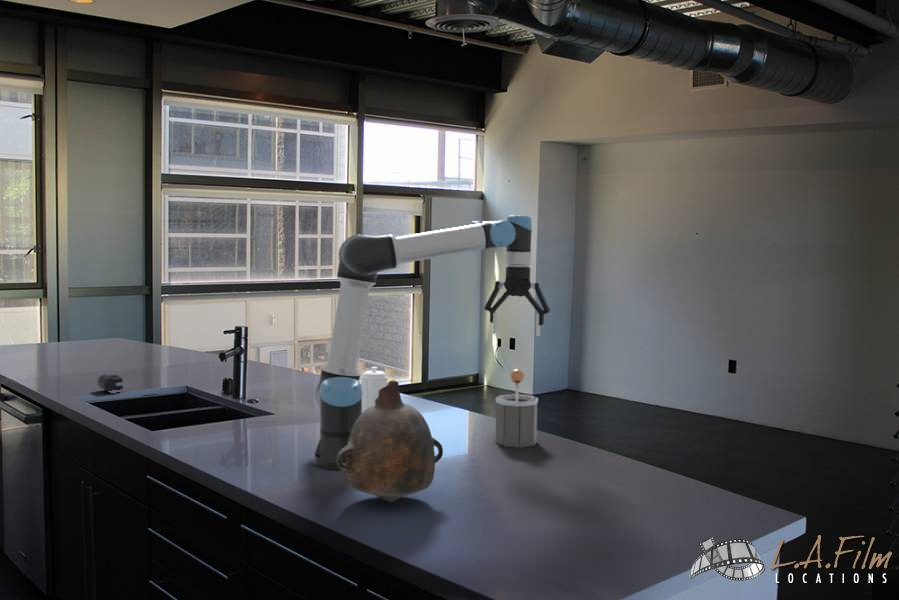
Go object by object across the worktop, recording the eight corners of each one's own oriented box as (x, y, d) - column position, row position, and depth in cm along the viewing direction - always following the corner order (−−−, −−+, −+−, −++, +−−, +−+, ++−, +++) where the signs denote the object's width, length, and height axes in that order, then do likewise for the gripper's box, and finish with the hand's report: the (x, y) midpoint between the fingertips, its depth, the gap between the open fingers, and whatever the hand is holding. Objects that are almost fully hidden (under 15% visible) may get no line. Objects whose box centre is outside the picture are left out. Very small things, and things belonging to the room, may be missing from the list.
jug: (392, 481, 215) (392, 367, 213) (456, 498, 202) (457, 377, 199) (321, 504, 196) (321, 379, 194) (387, 524, 183) (387, 391, 181)
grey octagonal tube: (531, 448, 250) (532, 403, 249) (491, 445, 254) (492, 400, 253) (542, 436, 265) (543, 393, 264) (504, 433, 269) (505, 391, 268)
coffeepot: (347, 427, 276) (347, 372, 274) (369, 412, 300) (369, 361, 299) (378, 429, 274) (378, 373, 272) (398, 413, 298) (398, 362, 297)
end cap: (97, 391, 337) (97, 374, 336) (115, 389, 341) (115, 373, 341) (105, 395, 329) (104, 378, 328) (123, 393, 333) (122, 376, 333)
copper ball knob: (526, 440, 252) (527, 372, 251) (499, 438, 255) (500, 370, 253) (532, 434, 260) (533, 368, 259) (506, 432, 263) (507, 366, 261)
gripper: (560, 267, 253) (558, 335, 255) (482, 264, 261) (480, 331, 263) (555, 267, 246) (553, 338, 248) (475, 265, 254) (474, 333, 255)
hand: (516, 334), depth 255 cm, fingers open, 13 cm apart
